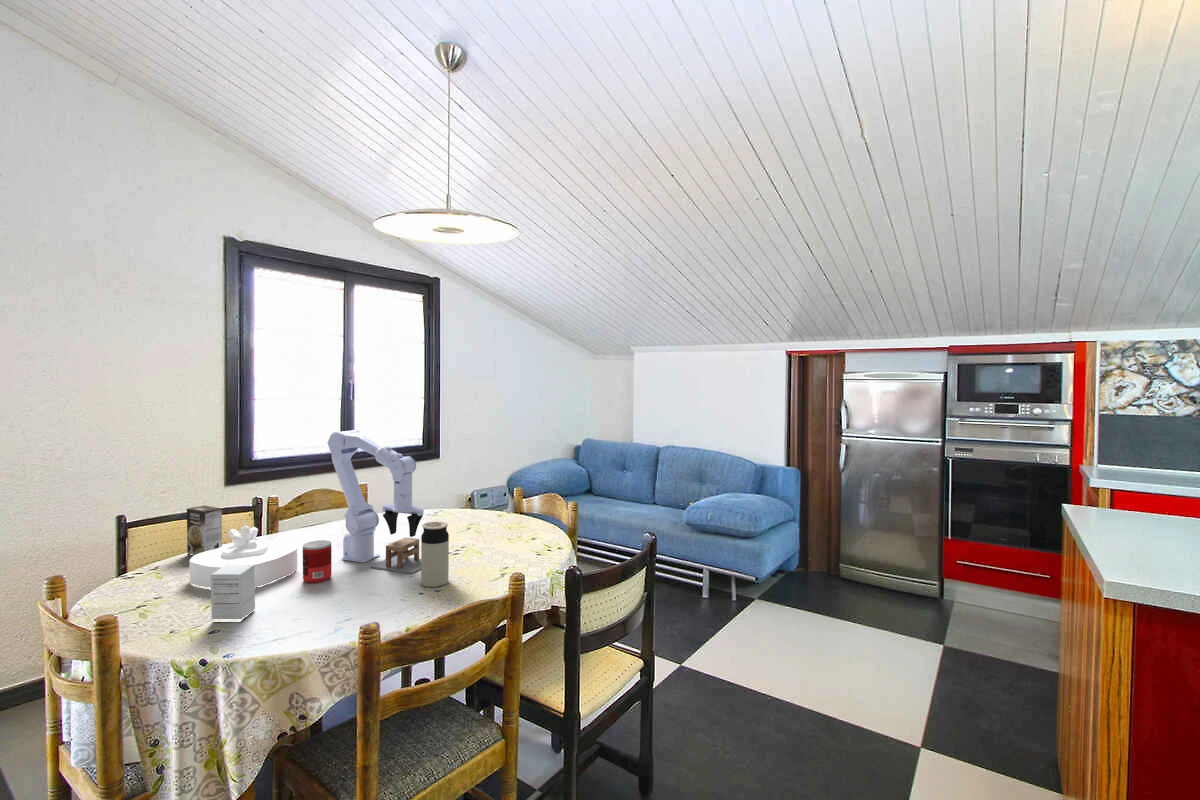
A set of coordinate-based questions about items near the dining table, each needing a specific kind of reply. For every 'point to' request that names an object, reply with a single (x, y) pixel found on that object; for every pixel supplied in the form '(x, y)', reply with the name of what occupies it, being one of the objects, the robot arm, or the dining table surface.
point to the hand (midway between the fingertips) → (402, 534)
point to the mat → (408, 565)
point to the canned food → (317, 561)
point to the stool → (402, 551)
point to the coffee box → (203, 529)
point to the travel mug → (434, 554)
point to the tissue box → (246, 558)
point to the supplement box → (232, 592)
